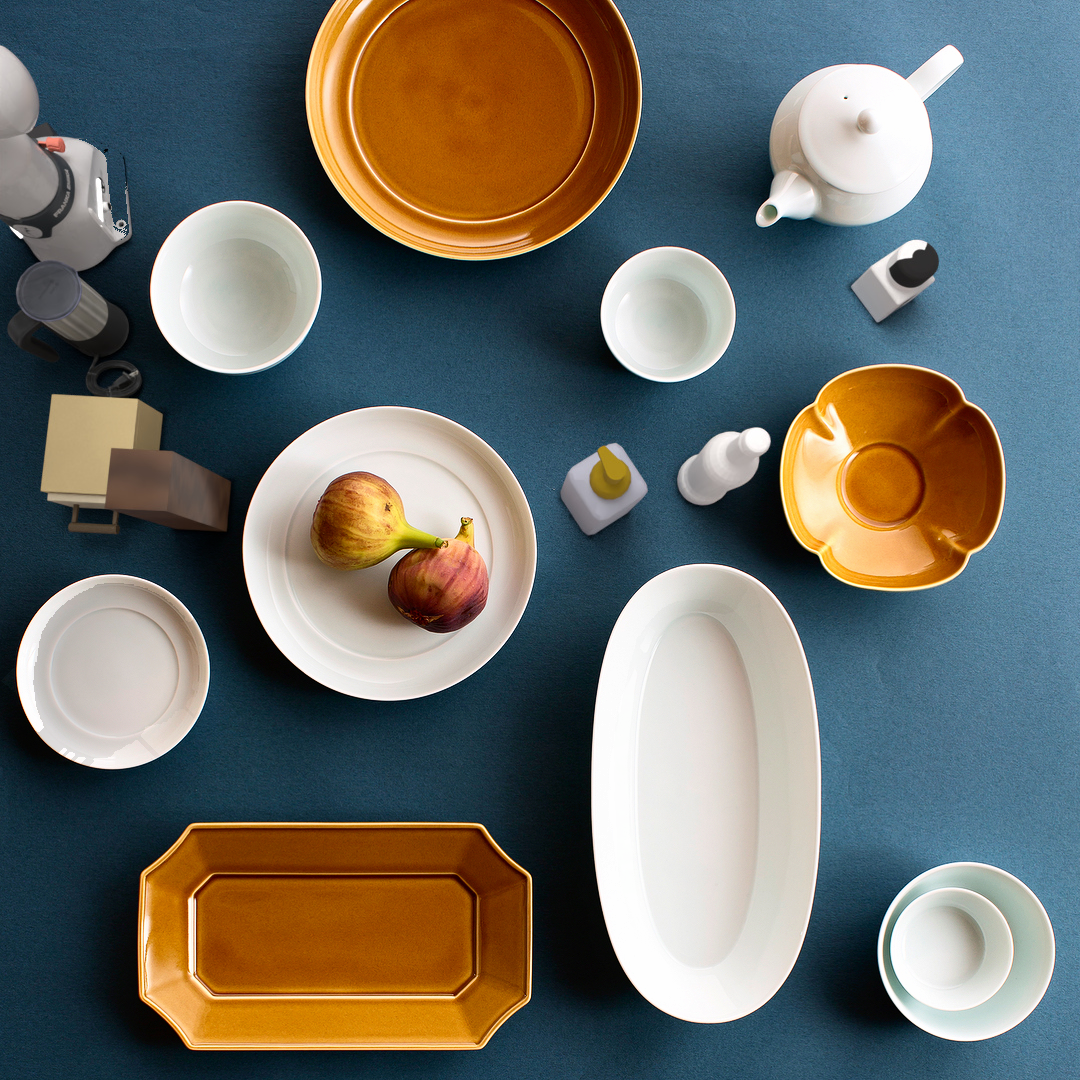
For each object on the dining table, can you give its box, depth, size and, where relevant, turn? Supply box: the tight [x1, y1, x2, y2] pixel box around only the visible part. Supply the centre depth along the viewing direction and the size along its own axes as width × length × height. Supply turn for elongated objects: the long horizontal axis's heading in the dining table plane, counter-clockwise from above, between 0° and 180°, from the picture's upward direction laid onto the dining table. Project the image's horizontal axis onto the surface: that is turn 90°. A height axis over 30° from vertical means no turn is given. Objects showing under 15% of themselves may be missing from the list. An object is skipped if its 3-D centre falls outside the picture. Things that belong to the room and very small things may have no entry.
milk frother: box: [7, 260, 143, 398], centre depth 119 cm, size 14×16×15 cm
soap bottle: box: [559, 442, 649, 536], centre depth 115 cm, size 9×9×25 cm
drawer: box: [46, 492, 121, 535], centre depth 120 cm, size 18×11×7 cm, turn 177°
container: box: [850, 239, 940, 323], centre depth 127 cm, size 8×8×13 cm
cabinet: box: [40, 393, 164, 495], centre depth 121 cm, size 15×13×9 cm
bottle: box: [676, 427, 771, 506], centre depth 114 cm, size 8×8×30 cm
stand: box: [105, 448, 232, 533], centre depth 114 cm, size 8×8×22 cm
